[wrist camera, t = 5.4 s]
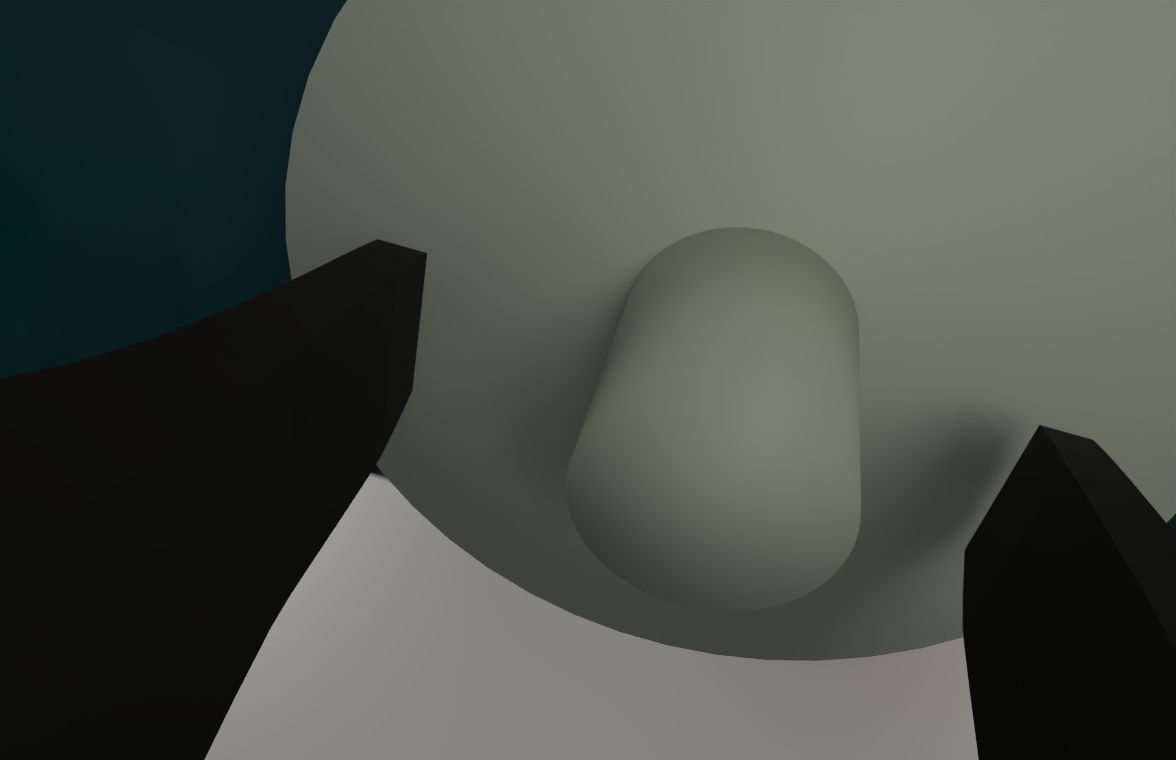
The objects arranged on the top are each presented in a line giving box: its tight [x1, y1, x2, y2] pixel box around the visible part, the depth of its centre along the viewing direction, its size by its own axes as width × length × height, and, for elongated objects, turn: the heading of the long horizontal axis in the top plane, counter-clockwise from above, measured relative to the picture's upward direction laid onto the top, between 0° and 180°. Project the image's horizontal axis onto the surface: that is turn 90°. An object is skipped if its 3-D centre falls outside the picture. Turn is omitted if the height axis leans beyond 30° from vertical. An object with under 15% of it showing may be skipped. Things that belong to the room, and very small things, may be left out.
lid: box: [286, 0, 1176, 660], centre depth 11 cm, size 12×12×4 cm
